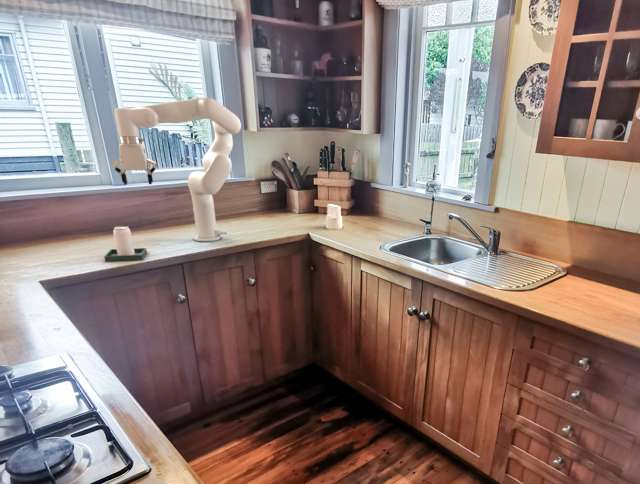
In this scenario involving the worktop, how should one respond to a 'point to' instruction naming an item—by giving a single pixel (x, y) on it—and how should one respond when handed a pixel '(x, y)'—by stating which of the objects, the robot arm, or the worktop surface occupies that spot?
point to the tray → (113, 255)
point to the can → (123, 240)
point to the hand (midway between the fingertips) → (138, 183)
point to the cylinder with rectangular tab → (333, 217)
